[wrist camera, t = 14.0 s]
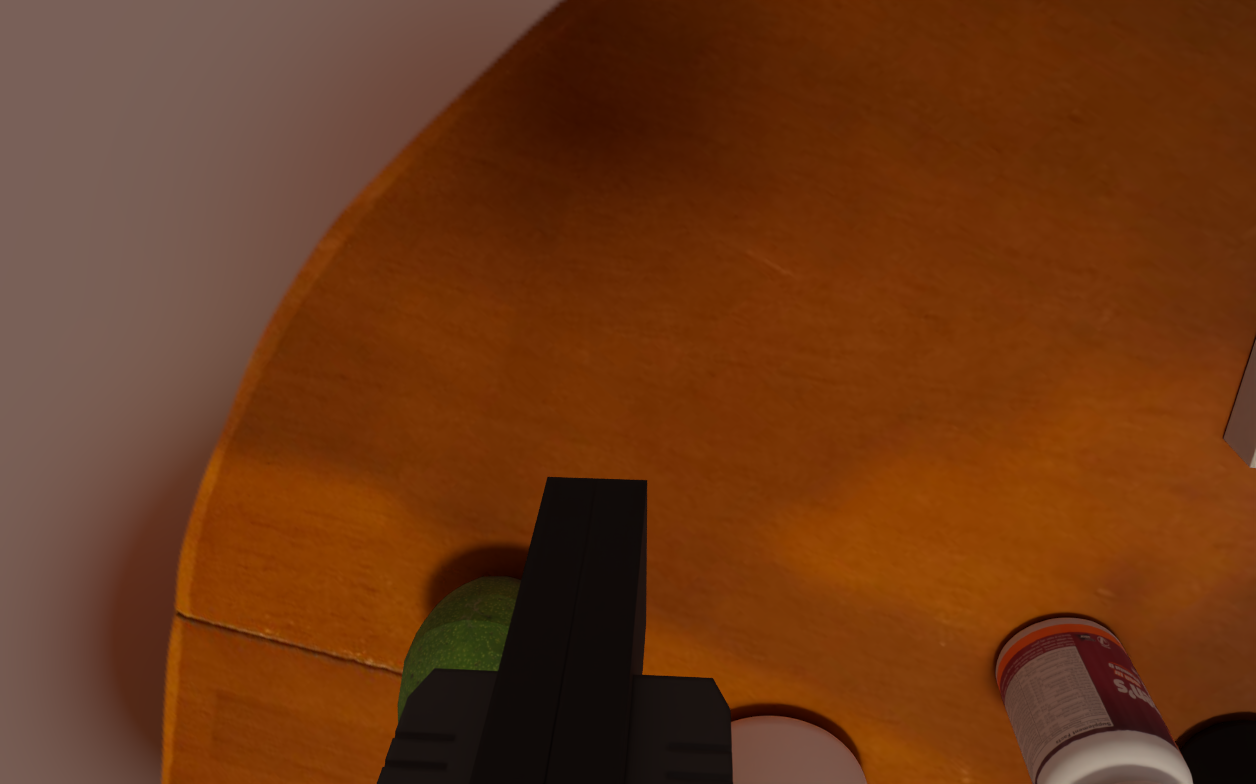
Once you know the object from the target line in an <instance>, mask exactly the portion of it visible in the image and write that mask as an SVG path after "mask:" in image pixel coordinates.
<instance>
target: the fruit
mask: <svg viewBox="0 0 1256 784" xmlns="http://www.w3.org/2000/svg"><path fill="white" fill-rule="evenodd" d="M520 583H521V580H520V579H516V578H513V577H509V576H486V577H480V578H478V579H475V580H473V581H471V582H468V583H466V584H464V585H462V586H460V587H459V588H457V589H456V590H454V591H452V592H451V593H450V594H448V595H447V596H446V597H445V598H444V599H442V600H441V601H440V602H439V603H438V604H437V606H436V607H435V608H434V609H433V611H432V612H431V613H430V614H429V616H428V617H427V618H426V619H425V621H424V622H423V624H422V625H421V627H420V629H419V630H418V632H417V633H416V635H415V638H414V640H413V642H412V644H411V647H410V649H409V651H408V654H407V656H406V658H405V661H404V668H403V674H402V681H401V687H400V694H399V700H398V723H399V720H400V717H401V715H402V712H403V709H404V706H405V703H406V701H407V698H408V696H409V695H410V694H411V693H412V692H413V691H414V690H415V689H416V688H417V687H418V685H419V684H420V683H421V682H422V681H423V680H424V679H425V678H426V677H427V676H428V675H429V674H430V672H431V671H432V670H433V669H434V668H442V669H465V670H487V671H498V669H499V665H500V661H501V657H502V653H503V649H504V645H505V642H506V638H507V634H508V630H509V626H510V622H511V618H512V614H513V610H514V606H515V602H516V599H517V595H518V591H519V587H520Z"/></svg>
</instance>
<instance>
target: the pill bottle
mask: <svg viewBox="0 0 1256 784" xmlns="http://www.w3.org/2000/svg"><path fill="white" fill-rule="evenodd" d="M996 680H997V684H998V687H999V691H1000V694H1001V696H1002V700H1003V703H1004V705H1005V708H1006V711H1007V714H1008V716H1009V719H1010V722H1011V724H1012V727H1013V730H1014V733H1015V735H1016V738H1017V741H1018V744H1019V746H1020V749H1021V752H1022V755H1023V758H1024V760H1025V763H1026V766H1027V769H1028V772H1029V774H1030V777H1031V780H1032V783H1033V784H1193V780H1192V776H1191V773H1190V770H1189V768H1188V766H1187V764H1186V762H1185V760H1184V758H1183V756H1182V754H1181V752H1180V751H1179V749H1178V747H1177V745H1176V743H1175V742H1174V740H1173V738H1172V736H1171V734H1170V732H1169V730H1168V728H1167V726H1166V725H1165V723H1164V721H1163V720H1162V717H1161V715H1160V713H1159V711H1158V709H1157V707H1156V706H1155V705H1154V703H1153V701H1152V699H1151V697H1150V695H1149V694H1148V692H1147V690H1146V688H1145V686H1144V684H1143V682H1142V681H1141V679H1140V677H1139V675H1138V673H1137V671H1136V669H1135V668H1134V666H1133V664H1132V662H1131V660H1130V659H1129V657H1128V655H1127V653H1126V651H1125V650H1124V648H1123V646H1122V644H1121V643H1120V642H1119V640H1118V639H1117V638H1116V637H1115V636H1114V635H1113V634H1112V633H1111V632H1110V631H1109V630H1107V629H1106V628H1104V627H1103V626H1101V625H1099V624H1097V623H1095V622H1093V621H1089V620H1085V619H1079V618H1054V619H1049V620H1045V621H1042V622H1039V623H1036V624H1033V625H1031V626H1029V627H1027V628H1025V629H1023V630H1022V631H1020V632H1019V633H1017V634H1016V635H1015V636H1013V637H1012V638H1011V639H1010V640H1009V641H1008V642H1007V643H1006V645H1005V646H1004V647H1003V649H1002V651H1001V653H1000V655H999V657H998V660H997V664H996Z"/></svg>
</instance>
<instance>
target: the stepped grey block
mask: <svg viewBox="0 0 1256 784" xmlns="http://www.w3.org/2000/svg"><path fill="white" fill-rule="evenodd" d="M1224 440H1225V441H1226V442H1227V443H1228V444H1229V446H1230V447H1231V448H1232V449H1233V450H1234V451H1235V452H1236V453H1237V454H1238V455H1239V456H1240V457H1241V458H1242V459H1243V460H1244V462H1245V463H1246V464H1247V465H1248V466H1249V467H1251V468H1256V340H1255V343H1254V346H1253V349H1252V353H1251V356H1250V359H1249V362H1248V365H1247V368H1246V371H1245V374H1244V377H1243V380H1242V383H1241V386H1240V389H1239V392H1238V396H1237V399H1236V402H1235V405H1234V408H1233V411H1232V414H1231V417H1230V420H1229V423H1228V426H1227V429H1226V432H1225V435H1224Z"/></svg>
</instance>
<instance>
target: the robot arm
mask: <svg viewBox="0 0 1256 784" xmlns="http://www.w3.org/2000/svg"><path fill="white" fill-rule="evenodd" d="M646 562H647V480H623V479H593V478H563V477H548V478H547V481H546V485H545V489H544V493H543V497H542V501H541V505H540V509H539V513H538V517H537V520H536V524H535V528H534V532H533V536H532V540H531V544H530V548H529V552H528V556H527V560H526V563H525V567H524V571H523V575H522V579H521V583H520V587H519V591H518V595H517V599H516V602H515V606H514V610H513V614H512V618H511V622H510V626H509V630H508V634H507V638H506V642H505V645H504V649H503V653H502V657H501V661H500V665H499V669H498V671H487V670H465V669H442V668H434V669H433V670H432V671H431V672H430V674H429V675H428V676H427V677H426V678H425V679H424V680H423V681H422V682H421V683H420V684H419V685H418V687H417V688H416V689H415V690H414V691H413V692H412V693H411V694H410V695H409V696H408V698H407V701H406V703H405V706H404V709H403V712H402V715H401V717H400V720H399V723H398V726H397V728H396V731H395V738H393V740H392V742H391V745H390V748H389V751H388V754H387V756H386V759H385V767H383V768H382V770H381V773H380V776H379V779H378V782H377V784H733V764H732V736H731V710H730V708H729V706H728V704H727V703H726V701H725V699H724V697H723V695H722V694H721V692H720V690H719V688H718V687H717V685H716V683H715V681H714V679H713V678H699V677H677V676H654V675H642V671H643V657H644V644H645V630H646Z"/></svg>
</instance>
